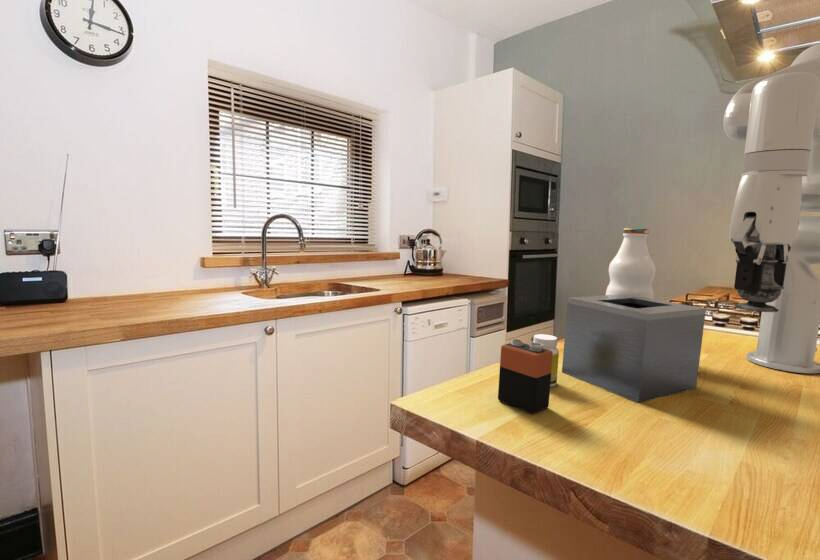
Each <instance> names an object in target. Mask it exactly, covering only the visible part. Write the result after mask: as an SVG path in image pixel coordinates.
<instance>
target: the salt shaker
mask: <svg viewBox="0 0 820 560" xmlns="http://www.w3.org/2000/svg"><path fill="white" fill-rule="evenodd" d="M753 240H754V239H753ZM753 242H760V241H753ZM776 246H777V245H766V248H765V251H764V254H763V258H762V261H761V263H760V265H764V268H763V276H762V283H761V290H760V291H759V292H751V291H744V290H737V289H736V290H737V295H738V296H739V297H740V298H741V299H743V300H744V301H747V302H739V303H736V304H735V305H734V308H737V309H741V310H745V311H751V312H761V313H762V312H778V311H779V310H778V309H776V308H775V307H774V306H771V305H766V303H768V302H773V301H774V300H776V299H778V297H779V296H780V294H781V290H782V289H784V287H783V286H779V285H778V284H777V283H776V282H775V281H774V266H775V263H776V262H778V261H777V260H776V259H775V254H776ZM753 249H754V252H756V249H757V248H753Z"/></svg>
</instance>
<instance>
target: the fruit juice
mask: <svg viewBox="0 0 820 560" xmlns="http://www.w3.org/2000/svg"><path fill="white" fill-rule="evenodd" d="M622 236H623V239H622V242H621V245H620V247H619V249H618V251H617V253H616V255H615V256H614V257H613V259H612V260H611V261H610V262H609V266H608V276H609V283H608V285H607V287H606V290H605V295H618V294H626V295H632V296H637V297H643V298H649V299H655V297H654V289H653V286H652V285H653V281H654V278H655V276H656V269H657V268H656V264H655V262H654V261H653V259H652V257H651V255H650V252H649V248H648V243H647V238H648V237H649V229H648V228H636V227H635V228H630V227H625V228H623V229H622Z"/></svg>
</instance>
